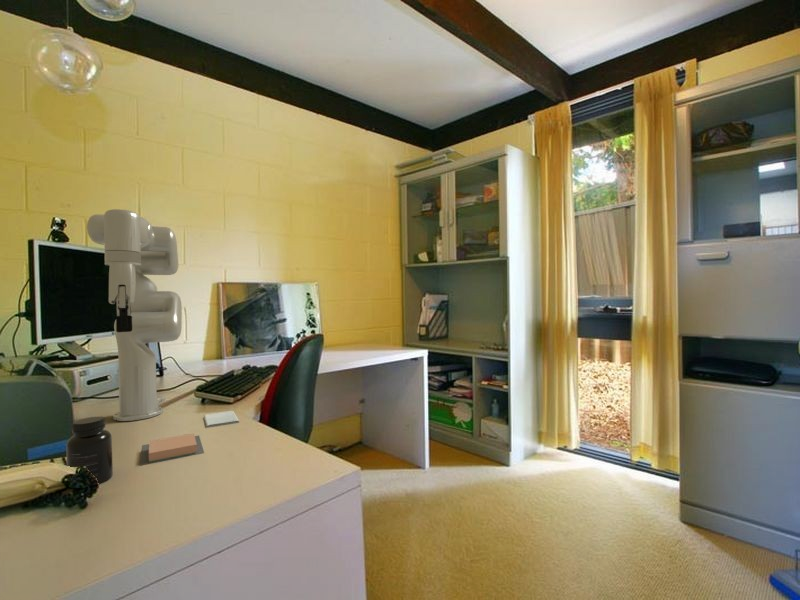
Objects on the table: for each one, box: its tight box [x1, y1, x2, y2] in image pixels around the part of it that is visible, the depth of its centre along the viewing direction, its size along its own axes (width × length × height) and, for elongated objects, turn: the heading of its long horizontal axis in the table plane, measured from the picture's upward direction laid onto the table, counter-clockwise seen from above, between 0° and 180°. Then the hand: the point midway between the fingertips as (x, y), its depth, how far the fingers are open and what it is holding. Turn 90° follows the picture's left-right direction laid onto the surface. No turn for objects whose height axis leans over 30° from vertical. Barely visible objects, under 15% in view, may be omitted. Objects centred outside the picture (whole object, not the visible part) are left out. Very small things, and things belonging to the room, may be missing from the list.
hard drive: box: [203, 410, 240, 429], centre depth 113 cm, size 2×8×12 cm
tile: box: [148, 432, 197, 462], centre depth 88 cm, size 2×9×9 cm
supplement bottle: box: [65, 416, 114, 485], centre depth 74 cm, size 7×7×12 cm
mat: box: [139, 434, 205, 467], centre depth 90 cm, size 14×12×1 cm
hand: (124, 331), depth 99 cm, fingers closed
